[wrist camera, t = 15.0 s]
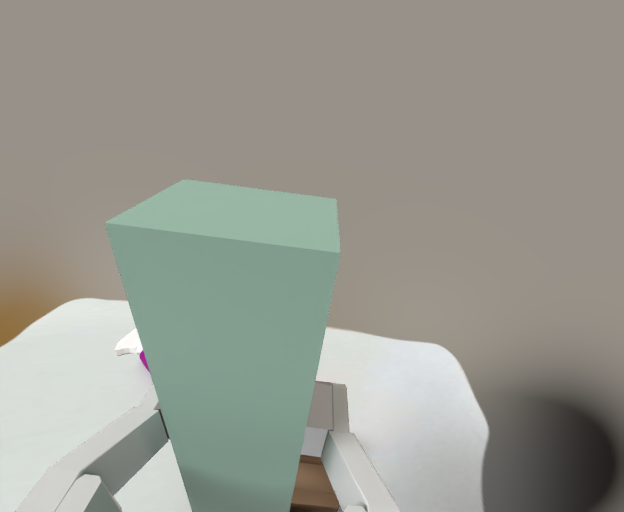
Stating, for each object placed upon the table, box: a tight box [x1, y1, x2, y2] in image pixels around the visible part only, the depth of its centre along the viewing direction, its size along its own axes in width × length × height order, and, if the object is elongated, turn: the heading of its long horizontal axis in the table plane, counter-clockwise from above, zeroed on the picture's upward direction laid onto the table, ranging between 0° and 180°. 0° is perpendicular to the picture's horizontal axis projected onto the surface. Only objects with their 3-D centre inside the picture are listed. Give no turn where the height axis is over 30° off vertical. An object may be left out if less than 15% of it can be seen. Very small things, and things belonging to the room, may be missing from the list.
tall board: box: [105, 179, 340, 512], centre depth 10 cm, size 2×4×20 cm
